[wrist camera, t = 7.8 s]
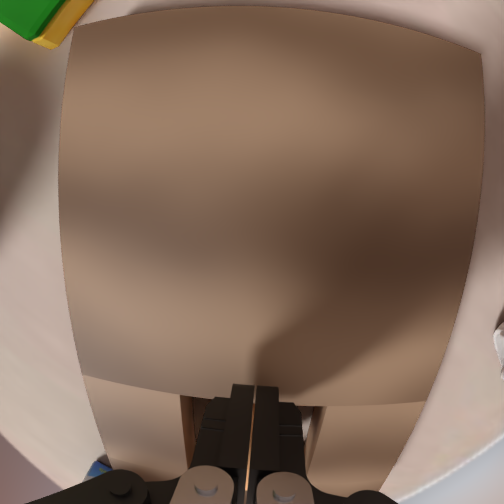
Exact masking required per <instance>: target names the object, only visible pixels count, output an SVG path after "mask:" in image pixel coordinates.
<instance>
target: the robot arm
mask: <svg viewBox="0 0 504 504" xmlns="http://www.w3.org/2000/svg"><path fill="white" fill-rule="evenodd" d="M254 388H255V385H246V384H234V383H233V385H232V390H231V396H230V398H225V397H216V396H215V397H214V398H213V400H212V401H211V402H210V403H209V404H208V405H207V406H206V409H205V413H204V417H203V420H202V424H201V429H200V432H199V435H198V439H197V443H196V447H195V450H194V454H193V458H192V462H191V465H190V467H189V468H188V470H187V471H186V472H184V473H183V474H182V475H181V476H179V477H177V478H175V479H172V480H167V481H150V482H145V481H144V480H143V479H142V478H141V477H140V476H139V475H138V474H136V473H134V472H132V471H129V470H124V469H116V470H111V471H108V472H105V473H103V474H101V475H99V476H96V477H94V478H92V479H89V480H87V481H85V482H82V483H80V484H77V485H75V486H72V487H70V488H67V489H65V490H62V491H60V492H57V493H54V494H52V495H49V496H46V497H43V498H41V499H38V500H35V501H32V502H29V503H26V504H244V496H245V486H246V476H247V465H248V455H249V444H250V433H251V422H252V411H253V399H254ZM246 504H398V503H396V502H395V501H393V500H392V499H390V498H389V497H387V496H386V495H384V494H383V493H380V492H378V491H374V490H362V491H358V492H355V493H353V494H351V495H350V496H349V497H342V496H337V495H333V494H328V493H325V492H322V491H320V490H319V489H317V488H316V487H314V486H313V485H312V484H311V483H310V481H309V480H308V478H307V475H306V467H305V455H304V443H303V431H302V420H301V412H300V411H299V410H298V408H297V407H296V405H295V404H294V402H279V387H274V386H259V385H257V388H256V399H255V409H254V420H253V431H252V443H251V455H250V466H249V477H248V488H247V499H246Z"/></svg>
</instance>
